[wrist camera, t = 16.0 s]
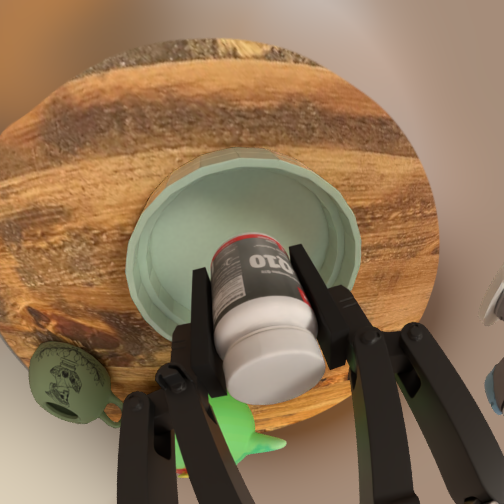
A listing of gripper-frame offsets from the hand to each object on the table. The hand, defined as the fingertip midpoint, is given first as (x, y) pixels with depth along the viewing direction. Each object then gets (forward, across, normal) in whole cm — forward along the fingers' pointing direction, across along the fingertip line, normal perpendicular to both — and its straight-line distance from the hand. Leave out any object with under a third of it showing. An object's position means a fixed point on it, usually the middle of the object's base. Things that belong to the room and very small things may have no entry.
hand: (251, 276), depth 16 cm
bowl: (+9, 0, -4) cm, 10 cm away
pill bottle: (+1, 0, 0) cm, 1 cm away
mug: (+9, -27, -17) cm, 33 cm away
